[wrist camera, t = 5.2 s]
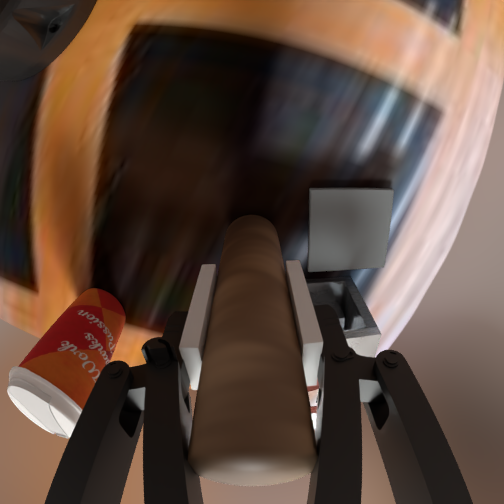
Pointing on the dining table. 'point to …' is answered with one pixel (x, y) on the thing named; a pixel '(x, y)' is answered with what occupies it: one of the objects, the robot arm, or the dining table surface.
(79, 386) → the paper cup
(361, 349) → the box
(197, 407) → the stylus
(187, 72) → the dining table surface
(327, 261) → the mat
